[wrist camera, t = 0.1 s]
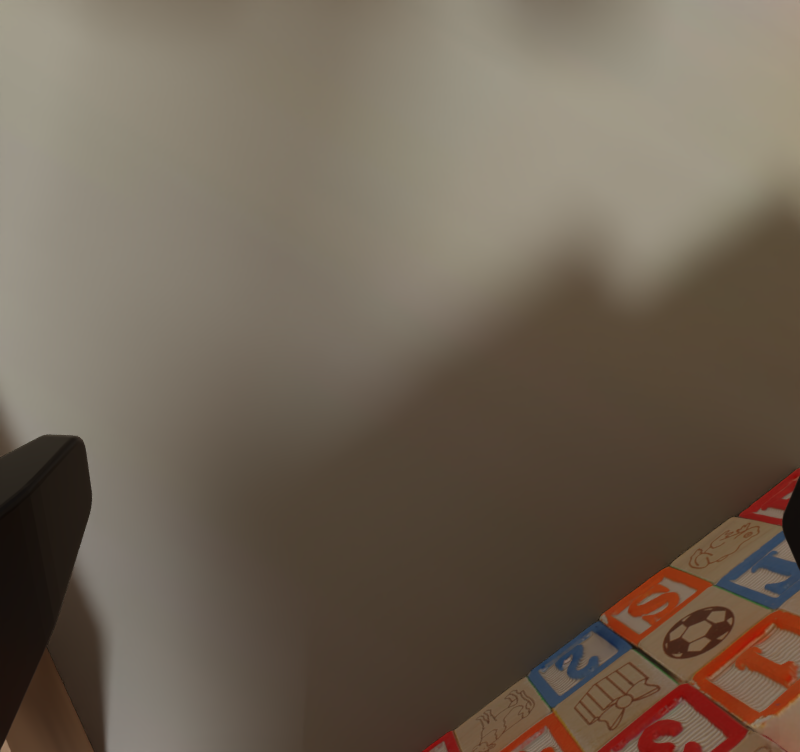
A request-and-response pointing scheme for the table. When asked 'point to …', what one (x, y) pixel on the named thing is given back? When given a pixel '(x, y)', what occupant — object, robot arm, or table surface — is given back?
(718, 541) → the stack of blocks
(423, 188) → the table surface
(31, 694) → the walnut base
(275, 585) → the table surface
